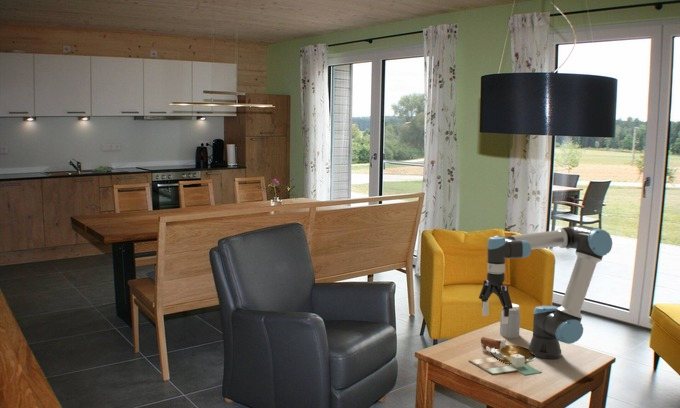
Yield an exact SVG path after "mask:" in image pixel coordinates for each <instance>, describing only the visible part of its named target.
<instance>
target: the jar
mask: <svg viewBox="0 0 680 408" xmlns="http://www.w3.org/2000/svg"><path fill="white" fill-rule="evenodd" d="M511 303H512V307H513V308H512V309H509V316H508V324H502V311H501V312H500V320H499V321H500V327H499V335H500V336H501V337H504V338H508V339H517V338H519V337H520V328H521V327H520V326H521V324H520V323H521V314H520V304H516V303H514V302H511Z"/></svg>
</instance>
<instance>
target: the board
mask: <svg viewBox="0 0 680 408" xmlns="http://www.w3.org/2000/svg"><path fill="white" fill-rule="evenodd" d="M496 358H497V357H495V358H494V356H491V357H483V358H476V359H470V360H468V362H469V363H470V364H473V365H474V366H476V367H477V368H479V369H481V370H483V371H484V372H486V373H488V374H490V375H491V376H495V375H496V376H497V375H502V374H509V373H517V372H518V371H519V370H517V369H516V368H514V367H512V366H510V365H508V364H505V363H506V362H504V361H502V360H500V359H498V358H497V359H498V360H497V359H496ZM499 360H500V361H499ZM501 361H502V362H501ZM503 362H504V363H503Z"/></svg>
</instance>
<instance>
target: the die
mask: <svg viewBox="0 0 680 408" xmlns="http://www.w3.org/2000/svg"><path fill="white" fill-rule="evenodd" d="M509 356H510V357H509V362H511V363H512V364H510V365H512V366H514V367H516V368H518V367H524V364H526V363H525V360H526V358H525V356H524V355H522V354H520V353H516V354H515V353H514V354H510V355H509Z"/></svg>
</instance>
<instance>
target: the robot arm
mask: <svg viewBox="0 0 680 408" xmlns="http://www.w3.org/2000/svg"><path fill="white" fill-rule="evenodd" d="M554 247H555V248H556V247H559V248H561V249H567V248H569V249H573V250H575V254H576V257H577V258H576V261H575V263H574V266H573V269H572V272H571V274H570V278H569V281H568V284H567V286H566V290H565V293H564V295H563V299H562V302H561V305H560V306H555V305H538V306H535V308H534V309H533V323H532V324H533V325H532V337H531V340H530V343H529V345H528V347H527V349H529V350H530V351H532V352H533V353H534V354H535V356H534V357H537V358H540V359H558V358H559V359H560V358H561V357H562V349H561V345H560V342H561V343H564V344H567V345H570V344H575V343H576V342H578V341H579V340H580V339H581V337H583V334H584V327H583V324H582V323H581V322H582V320H583V319H582V318H583V316H582V315H581V311H582V308H583V305H584V301H585V299H586V296H587V293H588V290H589V287H590V285H591V281H592V278H593V274H594V272H595V270H596V269H595V268H596V267H597V264H598V263H599V262H602V260H603V258H604V256H607V255H608V254H609V253H611V250H612V248H613V239H612V237H611V235H610V233H609V232H608V231H607V230H604V229H602V228H599V227H593V226H587V225H581V224H580V225H573V226H564V227H558V228H557V229H556V230H549V231H540V232H539V231H538V232H532V233H524V234H515V235H504V236H503V235H495V236H491V237H488V240H487V247H486V248H487V258H486V259H487V265H486V267H487V269H486V272H487V273H486V280H485V279H484V280H483V285H482V288H481V290H480V294H479V296H478V299H480V301H481V302H482V303H481V308H482V311H481V313H482V317H489V306H490V304H489V299H490V297H491V296H492V295H493V294H494V295H496V296H497V297H498V299H499V301H500V304H501V306H502V308H501V312H502V324H508V316H509V309H512V308H513V307H512V303H513V302H512V300H511V296H510V292H509V287H508V285H503V284H504V282H505V279H506V278H505V277H506V276H505V275H506V274H505V271H506V259H523V258H529V256H531V253H532V250H538V249H539V250H540V249H549V248H554Z"/></svg>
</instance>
